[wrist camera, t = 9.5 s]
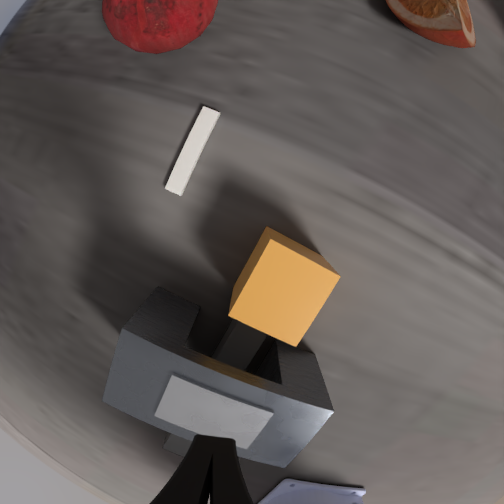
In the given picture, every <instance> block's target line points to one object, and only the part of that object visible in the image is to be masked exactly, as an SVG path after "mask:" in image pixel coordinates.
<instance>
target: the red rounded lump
mask: <svg viewBox="0 0 504 504" xmlns="http://www.w3.org/2000/svg"><path fill="white" fill-rule="evenodd" d="M217 3H218V0H103V2H102V14H103V19H104V21H105V23H106V25H107V27H108V29H109V31H110V33H111V34H112V36H113V37H114V39H116V40H118V41H120V42H121V43H123V44H125V45H127V46H128V47H130V48H132V49H133V50H135V51H139V52H147V53H154V54H158V53H163V52H167V51H171V50H176V49H180V48H182V47H184V46H185V45H187V44H188V43H190V42H191V41H193V40H194V39H196V38H197V37H199V36H200V35H201V34H202V33H203V31H204V30H205V29H206V28H207V26H208V25H209V24H210V22H211V21H212V19H213V16H214V13H215V10H216V7H217Z"/></svg>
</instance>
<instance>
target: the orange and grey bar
mask: <svg viewBox="0 0 504 504" xmlns="http://www.w3.org/2000/svg"><path fill="white" fill-rule="evenodd" d="M340 277H341V276H340V275H339V274H338V273H337V272H336V271H335V270H334V269H333V267H332V266H331V265H330V264H329V263H328V262H327V261H326V260H325V259H324V258H323V256H321V255H319V254H318V253H316V252H314V251H312V250H310V249H308V248H307V247H305V246H303V245H301V244H299V243H297V242H295V241H294V240H292V239H290V238H288V237H286V236H284V235H282V234H281V233H279V232H277V231H275V230H273V229H271V228H269V227H267V226H266V228H265V230H264V232H263V234H262V235H261V237H260V239H259V241H258V243H257V245H256V246H255V248H254V250H253V252H252V254H251V256H250V257H249V259H248V261H247V263H246V265H245V267H244V269H243V270H242V272H241V274H240V276H239V278H238V280H237V281H236V283H235V285H234V287H233V292H232V297H231V303H230V308H229V314H228V316H230V317H232V318H233V320H232V322H231V324H230V325H229V327H228V329H227V331H226V332H225V334H224V336H223V338H222V340H221V341H220V343H219V345H218V346H217V348H216V350H215V352H214V353H213V355H212V357H211V358H213V359H215V360H217V361H220V362H222V363H225V364H227V365H230V366H232V367H235V368H237V369H240V370H242V371H245V369H246V368H247V366H248V365H249V363H250V361H251V360H252V358H253V357H254V355H255V354H256V352H257V351H258V349H259V347H260V346H261V344H262V343H263V341H264V340H265V338H266V336H267V335H270V336H272V337H275V338H277V339H279V340H281V341H284V342H286V343H288V344H290V345H292V346H295V347H296V346H297V345H298V343H299V342H300V340H301V339H302V337H303V336H304V334H305V333H306V331H307V329H308V328H309V326H310V325H311V323H312V322H313V320H314V319H315V317H316V316H317V314H318V312H319V311H320V309H321V308H322V306H323V304H324V303H325V301H326V300H327V298H328V296H329V295H330V293H331V291H332V290H333V288H334V287H335V285H336V283H337V282H338V280H339V278H340ZM191 443H192V441H190V440H187V439H185V438H182V437H179V436H177V435H174V434H172V433H169V432H167V435H166V438H165V442H164V445H163V449H165V450H168V451H170V452H172V453H175V454H177V455H180V456H182V457H185V455H186V453H187V452H188V450H189V448H190V445H191Z"/></svg>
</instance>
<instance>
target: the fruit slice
mask: <svg viewBox="0 0 504 504" xmlns="http://www.w3.org/2000/svg"><path fill="white" fill-rule="evenodd" d="M386 2H387V4H388V6H389V8H390V9H391V11H392V12H393V13H394V14H395V16H396V17H397V18H398V19H399V20H400V21H401V22H402V23H403V24H404V25H405V26H406V27H408V28H409V29H410V30H412V31H413V32H415V33H417V34H418V35H420V36H422V37H424V38H426V39H429V40H431V41H434V42H437V43H440V44H443V45H448V46H454V47H458V48H468V47H470V48H471V47H475V43H476V39H475V32H474V27H473V22H472V18H471V13H470V10H469V6H468V3H467V0H386Z"/></svg>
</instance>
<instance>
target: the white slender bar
mask: <svg viewBox="0 0 504 504" xmlns="http://www.w3.org/2000/svg"><path fill="white" fill-rule="evenodd" d="M219 116H220V113H219V112H217V111H215V110H212V109H210V108H207V107H205V106H203V108H202V110H201V112H200V114H199V116H198V118H197V120H196V122H195V124H194V126H193V128H192V130H191V132H190V134H189V136H188V138H187V140H186V142H185V145H184V147H183V149H182V151H181V153H180V155H179V157H178V160H177V162H176V164H175V166H174V169H173V171H172V173H171V175H170V178H169V180H168V182H167V184H166V187H165V189H167V190H169V191H171V192H173V193H176V194H178V195H180V196H182V194H183V192H184V190H185V188H186V185H187V183H188V181H189V179H190V176H191V174H192V172H193V170H194V168H195V165H196V163H197V161H198V159H199V157H200V155H201V153H202V151H203V148H204V146H205V144H206V142H207V140H208V138H209V136H210V134H211V132H212V130H213V128H214V126H215V124H216V122H217V120H218V118H219Z"/></svg>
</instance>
